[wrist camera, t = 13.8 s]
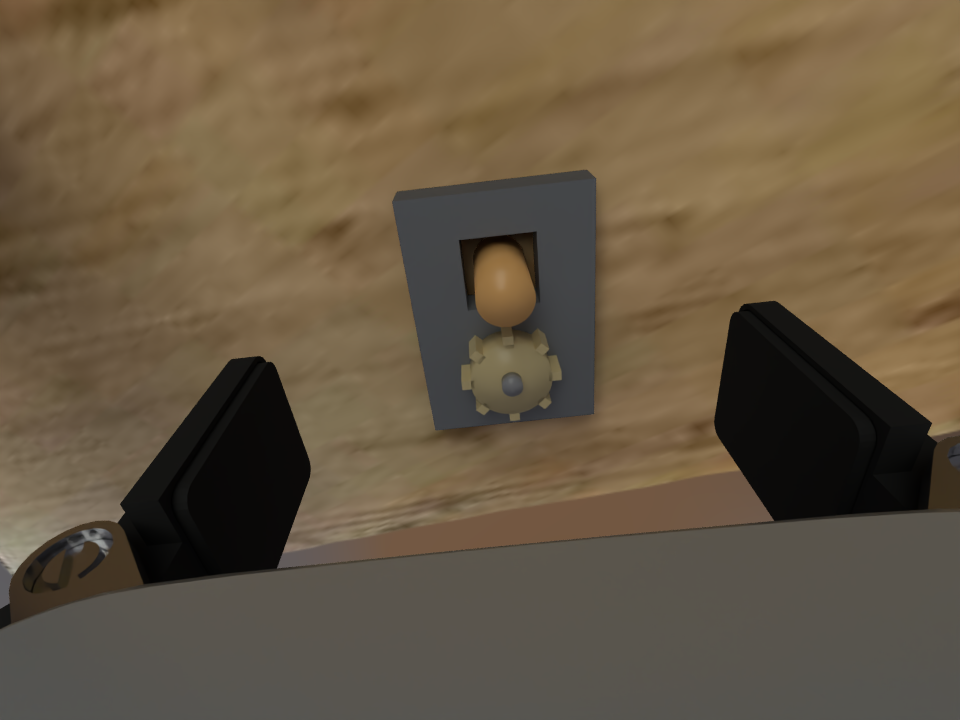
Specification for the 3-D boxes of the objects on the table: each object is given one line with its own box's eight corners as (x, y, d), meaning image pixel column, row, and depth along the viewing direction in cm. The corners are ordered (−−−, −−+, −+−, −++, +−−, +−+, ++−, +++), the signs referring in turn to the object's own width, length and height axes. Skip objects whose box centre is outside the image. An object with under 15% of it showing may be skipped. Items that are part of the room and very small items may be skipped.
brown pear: (470, 237, 40) (472, 275, 33) (521, 231, 40) (534, 268, 33) (476, 285, 42) (478, 330, 35) (524, 279, 42) (537, 324, 35)
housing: (396, 191, 38) (385, 215, 32) (586, 169, 38) (608, 189, 32) (436, 410, 48) (433, 456, 43) (586, 394, 48) (603, 439, 42)
